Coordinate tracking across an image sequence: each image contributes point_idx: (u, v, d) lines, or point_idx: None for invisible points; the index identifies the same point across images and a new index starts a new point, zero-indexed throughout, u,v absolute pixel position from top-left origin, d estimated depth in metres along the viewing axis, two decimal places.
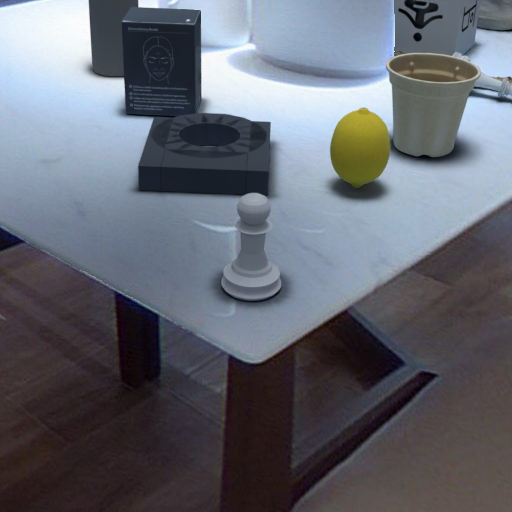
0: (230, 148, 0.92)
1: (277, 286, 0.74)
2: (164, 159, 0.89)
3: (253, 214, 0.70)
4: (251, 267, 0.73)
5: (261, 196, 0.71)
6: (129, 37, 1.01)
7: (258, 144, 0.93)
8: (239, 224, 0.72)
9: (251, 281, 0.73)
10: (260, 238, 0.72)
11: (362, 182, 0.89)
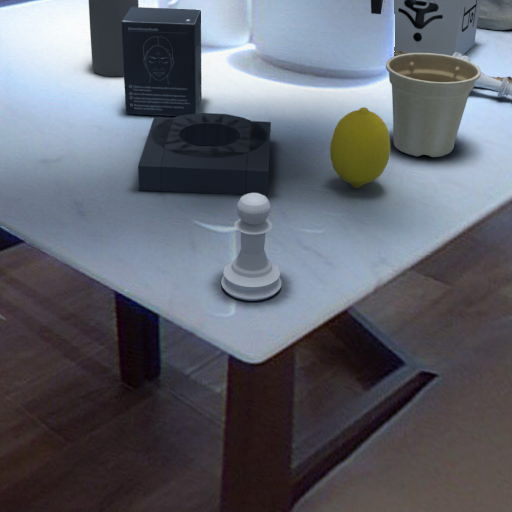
0: (230, 148, 0.92)
1: (277, 286, 0.74)
2: (164, 159, 0.89)
3: (253, 214, 0.70)
4: (251, 267, 0.73)
5: (261, 196, 0.71)
6: (129, 36, 1.01)
7: (258, 144, 0.93)
8: (239, 224, 0.72)
9: (251, 281, 0.73)
10: (260, 238, 0.72)
11: (362, 182, 0.89)
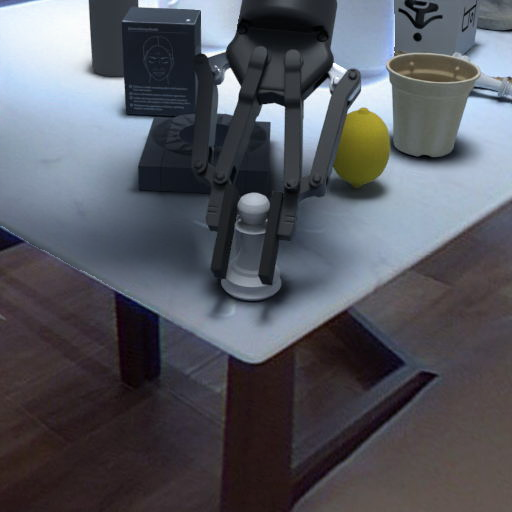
0: None
1: (277, 286, 0.74)
2: (164, 159, 0.89)
3: (253, 214, 0.70)
4: (251, 267, 0.73)
5: (261, 196, 0.71)
6: (129, 36, 1.01)
7: (258, 144, 0.93)
8: (239, 224, 0.72)
9: (251, 281, 0.73)
10: (260, 238, 0.72)
11: (362, 182, 0.89)
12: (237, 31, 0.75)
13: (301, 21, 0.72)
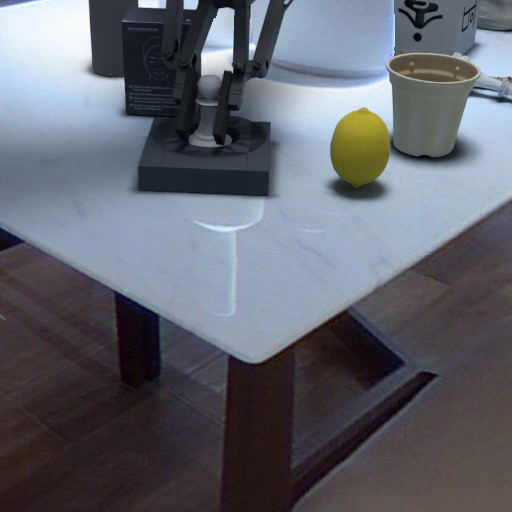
0: (230, 148, 0.92)
1: None
2: (164, 159, 0.89)
3: (209, 89, 0.91)
4: (208, 133, 0.93)
5: (215, 76, 0.92)
6: (129, 36, 1.01)
7: (258, 144, 0.93)
8: (199, 99, 0.93)
9: (209, 144, 0.93)
10: (215, 110, 0.93)
11: (362, 182, 0.89)
12: None
13: None
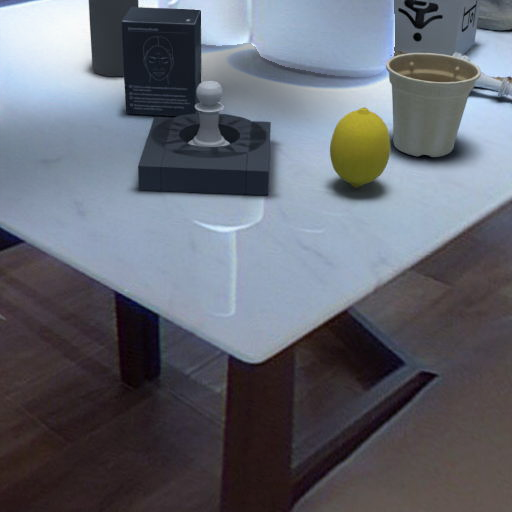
0: (230, 148, 0.92)
1: None
2: (164, 159, 0.89)
3: (208, 95, 0.91)
4: (207, 139, 0.94)
5: (215, 82, 0.92)
6: (129, 36, 1.01)
7: (258, 144, 0.93)
8: (198, 105, 0.93)
9: None
10: (214, 116, 0.93)
11: (362, 182, 0.89)
12: None
13: None
